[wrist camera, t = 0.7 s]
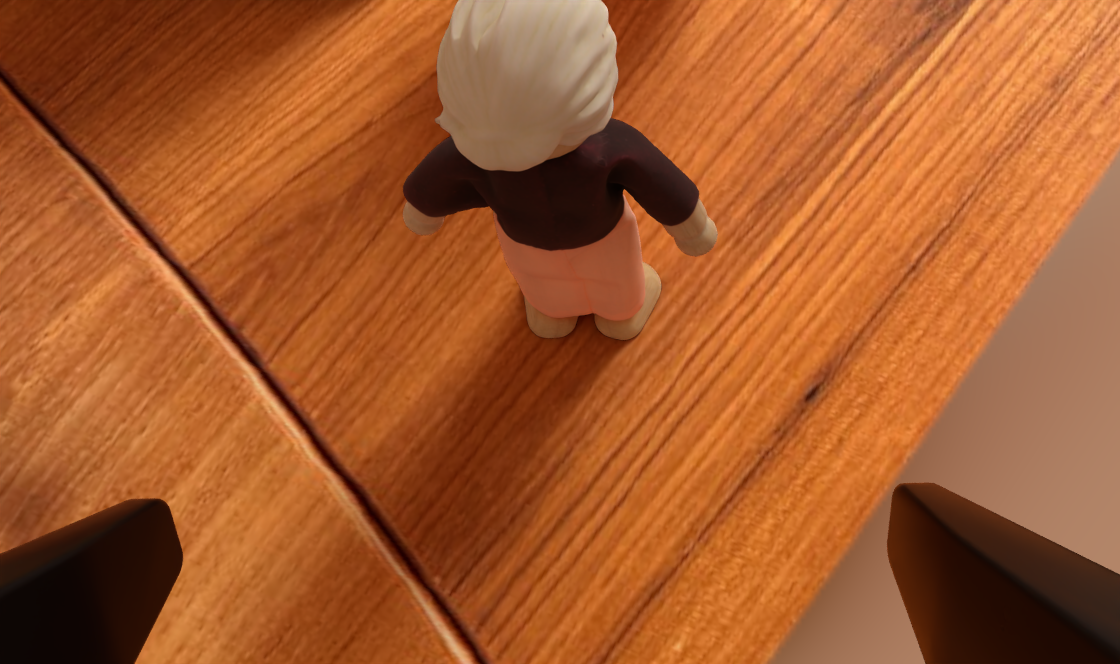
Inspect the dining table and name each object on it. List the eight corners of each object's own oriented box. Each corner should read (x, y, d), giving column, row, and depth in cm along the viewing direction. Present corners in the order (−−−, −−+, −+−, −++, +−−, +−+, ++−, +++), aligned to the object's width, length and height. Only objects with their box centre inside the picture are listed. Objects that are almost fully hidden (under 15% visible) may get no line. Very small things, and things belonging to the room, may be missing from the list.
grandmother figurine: (682, 230, 23) (738, -130, 11) (701, 339, 22) (784, 62, 10) (454, 258, 24) (279, -60, 12) (459, 367, 23) (267, 133, 11)
